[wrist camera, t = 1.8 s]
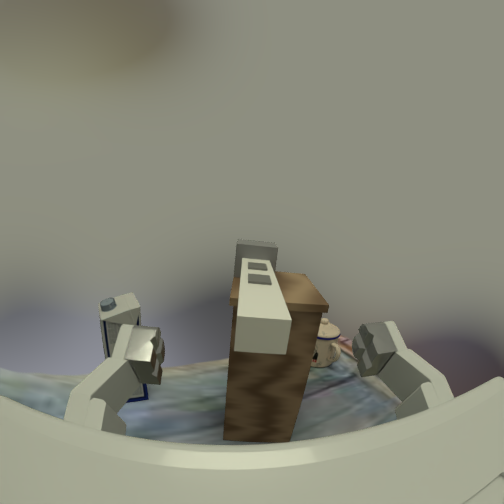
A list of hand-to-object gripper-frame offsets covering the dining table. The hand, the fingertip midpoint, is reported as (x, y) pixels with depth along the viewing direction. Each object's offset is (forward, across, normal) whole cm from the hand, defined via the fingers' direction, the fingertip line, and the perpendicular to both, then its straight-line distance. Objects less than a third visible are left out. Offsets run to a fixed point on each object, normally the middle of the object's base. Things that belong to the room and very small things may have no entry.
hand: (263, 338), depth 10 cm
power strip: (+17, -2, +15) cm, 23 cm away
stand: (+12, -4, +41) cm, 43 cm away
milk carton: (+15, +21, +41) cm, 49 cm away
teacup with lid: (+28, -22, +51) cm, 62 cm away
